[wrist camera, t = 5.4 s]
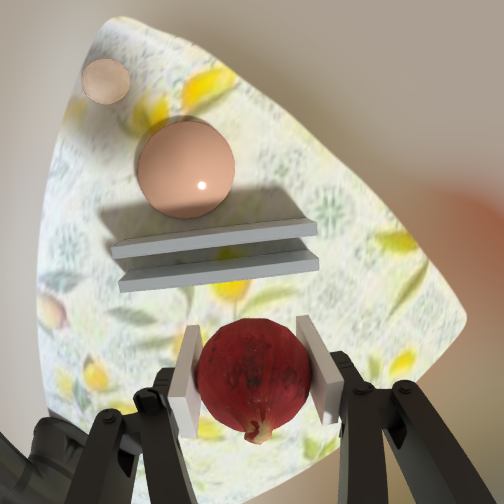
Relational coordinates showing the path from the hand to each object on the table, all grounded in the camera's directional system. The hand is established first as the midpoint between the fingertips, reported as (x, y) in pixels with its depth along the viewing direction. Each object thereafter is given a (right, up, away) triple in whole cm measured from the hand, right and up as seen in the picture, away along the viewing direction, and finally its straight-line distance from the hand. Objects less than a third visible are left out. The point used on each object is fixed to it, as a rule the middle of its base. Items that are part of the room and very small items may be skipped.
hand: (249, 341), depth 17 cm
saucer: (-7, +14, +12) cm, 19 cm away
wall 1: (-4, +4, +14) cm, 15 cm away
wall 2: (-4, +7, +14) cm, 16 cm away
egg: (-15, +23, +9) cm, 29 cm away
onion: (0, 0, +1) cm, 1 cm away
